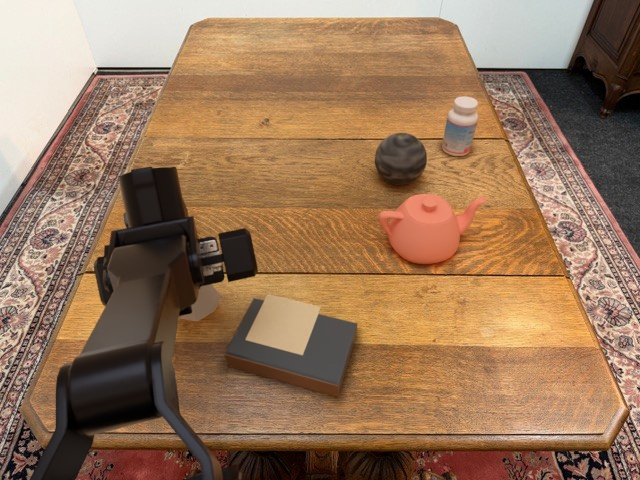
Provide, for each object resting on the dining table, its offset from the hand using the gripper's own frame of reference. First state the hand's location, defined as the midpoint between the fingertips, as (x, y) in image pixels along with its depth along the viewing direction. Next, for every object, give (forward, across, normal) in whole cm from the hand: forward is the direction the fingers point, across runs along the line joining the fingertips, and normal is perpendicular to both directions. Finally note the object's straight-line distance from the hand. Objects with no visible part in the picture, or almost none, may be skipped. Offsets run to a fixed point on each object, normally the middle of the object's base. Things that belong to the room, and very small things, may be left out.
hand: (185, 265), depth 66 cm
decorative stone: (+21, -42, -8) cm, 47 cm away
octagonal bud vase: (+4, 0, +6) cm, 7 cm away
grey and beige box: (-1, -12, +15) cm, 20 cm away
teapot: (+9, -40, +5) cm, 41 cm away
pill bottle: (+26, -58, -12) cm, 64 cm away
